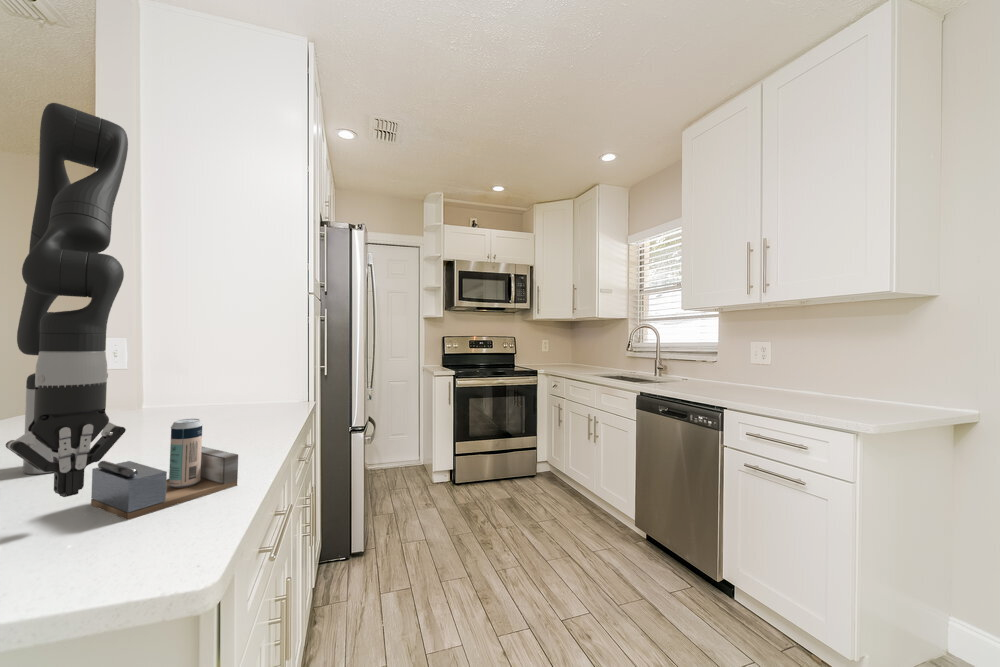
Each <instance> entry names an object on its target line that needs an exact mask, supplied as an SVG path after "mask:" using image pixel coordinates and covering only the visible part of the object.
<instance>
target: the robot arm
mask: <svg viewBox="0 0 1000 667" xmlns="http://www.w3.org/2000/svg"><path fill="white" fill-rule="evenodd" d="M44 107H45V108H43V111H42V116H41V120H40V129H39V151H38V153H39V155H38V157H39V158H38V182H37V183H38V185H37V193H36V200H35V205H34V212H33V217H32V223H31V231H30V240H29V249H28V254H27V256H26V257H25V259H24V261H23V264H22V268H21V276H22V279H23V281H24V283H25V284H26V286H25V287H26V288H25V291H24V292H25V293H24V298H23V300H22V301H23V303H22V307H21V311H20V316H19V321H18V328H17V330H16V331H17V332H16V333H17V334H16V343H17V347H18V350H19V351H20V352H21V353H22V354H23V355H26V356H27V355H28V356H37V360H36V364H35V372H34V373H32V374H29V375H28V376H27V378H26V384H25V385H26V387H25V388H26V390H25V391H26V392H25V415H24V434H22V435H21V436H19V437H18V438H16V439H11V440H9V441H7V442H6V443H5V447H6V449H8V450H9V451H11V452H12V453H13V454H15V455H16V456H18V457H19V458H21V459H22V460H23V463H22V473H24V474H30V475H31V474H32V475H35V474H37V475H38V474H48V473H53V475H54V476H53V491H54V493H55V494H57V495H59V496H60V497H63V498H67V497H70V496H71V497H72V496H76V495H79V493H80V492H79V491H80V490H82V489H83V488H84V485H85V483H84V482H85V469H86V467H87V466H90V465H91V464H93V463H97V462H98V463H99V462H101V461H102V459H103V457H104V456H105V455H106V454H107V453H108V452H109V451H110V450H111V448H113V447H114V445H115V444H116V443H117V442H118V441H119V439H120V438H122V436H123V435H124V433H125V432H126V431H127V429H126V428H125V427H124V426H119V425H116V424H114V423H112V422H110V418H109V416H108V415H107V413H106V408H107V387H108V386H107V382H108V381H107V380H108V378H109V377H108V376H109V373H108V361H107V355H106V354H107V353H106V346H107V344H106V343H107V329H108V328H107V326H108V321H109V317H110V316H109V315H110V313H111V309H112V308H113V304H114V303H115V300H116V297H117V295H118V293H119V291H120V289H121V286H122V284H123V281H124V277H125V274H124V273H125V272H124V268H123V266H122V264H121V262H120V261H119V260H118V259H117V258H116V257H114V256H113V255H109V254H107V253H106V254H105V253H102V252H104V251H105V250H107V249H108V248H109V246H110V243H111V239H112V238H111V236H112V226H113V224H112V223H113V211H114V205H115V202H116V198H117V195H118V192H119V190H120V187H121V183H122V180H123V179H122V178H123V176H124V172H125V168H126V162H127V158H128V151H129V150H128V149H129V139H128V135H127V132H126V130H125V129H124V128H123V127H122V126H120V125H119V124H117V123H115V122H112V121H110V120H108V119H105V118H102V117H99V116H96V115H93V114H91V113H87V112H85V111H82V110H79V109H76V108H74V107H70V106H68V105H64V104H61V103H58V102H50V103H48V104H47V105H46V106H44ZM65 161H69V162H72V163H75V164H78V165H82V166H86V167H90V168H93V169H96V171H94V172H92V173H90V174H89V175H87V176H86V177H83V178H81V179H79V180H76V181H74V182H72V183H71V181H70V178H69V175H68V173H67V169H66V165H65ZM59 296H61V297H62V296H63V297H75V298H76V297H78V298H90V299H91V300H90V301H89V303H88V304H87V305H86V306H84V307H82V308H79V309H73V310H64V311H49V309H50V307H51V305H52V304H53V303H54V301H55V300H56V299H57V298H58V297H59ZM99 435H101V437H100V438H99V439H98V440H97V441H96V442H95V443H94V445H92V447H91V443H92V442H93V441H94V440H95V439H96V438H98V436H99Z"/></svg>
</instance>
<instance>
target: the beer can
mask: <svg viewBox="0 0 1000 667" xmlns="http://www.w3.org/2000/svg"><path fill="white" fill-rule="evenodd" d="M203 425H204V424H203V423H202V422H201V419H200V418H184V419H177V420H174V421H173V423H172V424H171V426H170V447H169V448H170V449H169V450H170V451H169V454H170V455H169V469H168V470H169V474H168V479H169V484H168V485H169V486H171V487H174V488H184V487H189V486H192V485H195V484H196V483H197V482H199V481H200V480H201V479H200V473H201V448H202V447H203V445H202V443H203V442H202V441H203Z"/></svg>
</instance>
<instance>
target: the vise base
mask: <svg viewBox="0 0 1000 667" xmlns="http://www.w3.org/2000/svg"><path fill="white" fill-rule="evenodd" d="M238 471H239V454H237V453H233V452H228V451H223V450H220V449H215V448H211V447H205V446H202V448H201V473H200V479H201V480H200V481H199V482H197V483H196V484H195V485H192V486H189V487H184V488H174V487H171V486H169V485H168V484H169V478H167V481H166V498H165V502H161V503H158V504H155V505H152V506H148V507H145V508H142V509H138V510H135V511H132V512H129V513H128V512H125V511H123V510H120V509H117V508H115V507H112V506H110V505H107V504H105V503H102V502H100V501H97V500H94V499H92V498H91V500H90V506H92V507H95V508H97V509H99V510H102V511H105V512H107V513H109V514H112V515H114V516H116V517H120V518H122V519H125V520H127V521H129V520H132V519H136V518H139V517H142V516H144V515H147V514H152V513H154V512H157V511H160V510H164V509H167V508H170V507H173V506H176V505H177V506H178V505H179V504H183V503H187V502H189V501H193V500H194V499H195V500H196V499H199V498H202V497H204V496H208V495H211V494H215V493H218V492H221V491H223V490H227V489H230V488H233V487H236V486H237V487H238V479H239V477H238V475H239V474H238V473H239V472H238Z"/></svg>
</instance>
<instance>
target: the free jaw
mask: <svg viewBox="0 0 1000 667" xmlns="http://www.w3.org/2000/svg"><path fill="white" fill-rule="evenodd" d="M91 473H92V475H91V495H90V496H91V499H94V500H97V501H100V502H102V503H105V504H107V505H110V506H112V507H115V508H117V509H120V510H123V511H125V512H128V513H129V512H132V511H135V510H138V509H142V508H145V507H148V506H152V505H155V504H158V503H161V502H165V498H166V481H167V479H168V476H167V474H168V473H167V471H166V470H163V469H159V468H155V467H152V466H148V465H146V464H142V463H138V462H135V461H131V460H127V461H123V462H118V463H114V462H110V461H107V460H100V461H98V463H97V467H94V468H92V472H91Z"/></svg>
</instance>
